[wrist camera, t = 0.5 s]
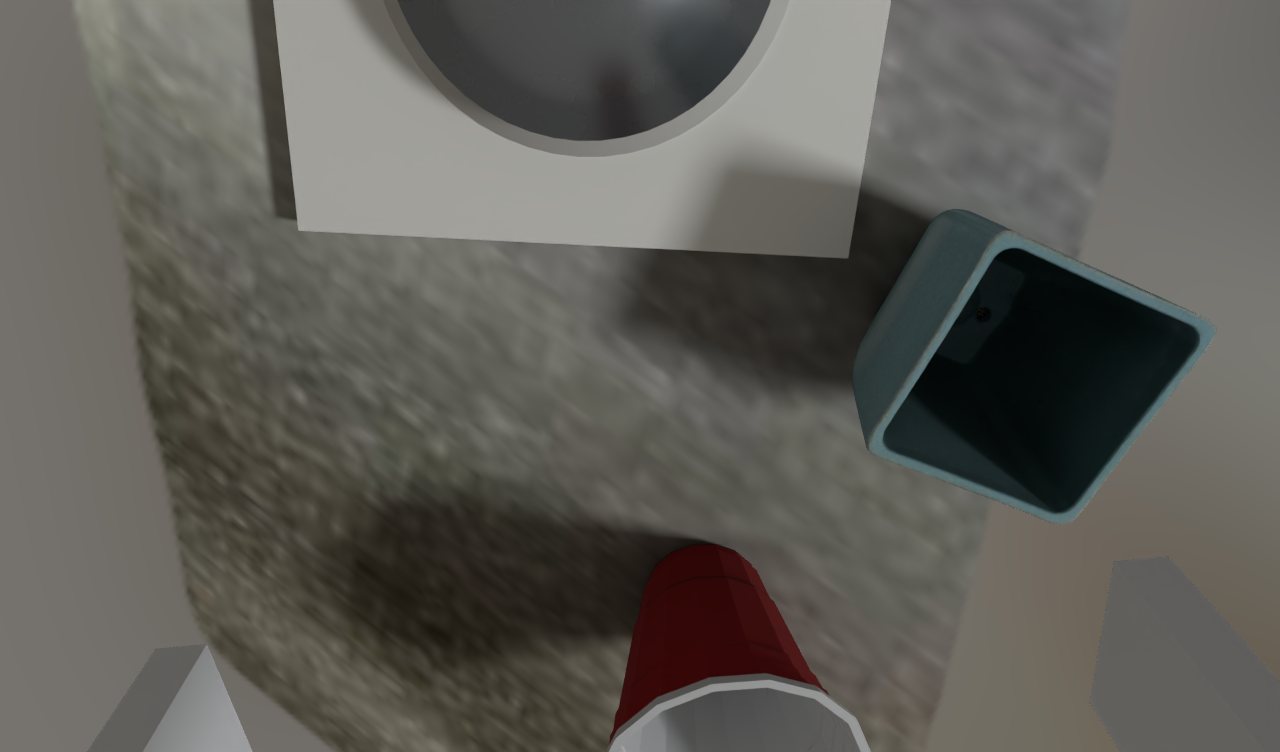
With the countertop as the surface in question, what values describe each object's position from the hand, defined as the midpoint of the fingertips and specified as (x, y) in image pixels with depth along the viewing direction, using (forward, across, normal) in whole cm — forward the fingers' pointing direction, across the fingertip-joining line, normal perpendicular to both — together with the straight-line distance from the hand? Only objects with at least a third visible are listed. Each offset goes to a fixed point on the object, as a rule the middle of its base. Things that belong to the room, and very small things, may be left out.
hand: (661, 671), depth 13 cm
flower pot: (+26, +13, -5) cm, 29 cm away
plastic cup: (+25, +2, -20) cm, 32 cm away
